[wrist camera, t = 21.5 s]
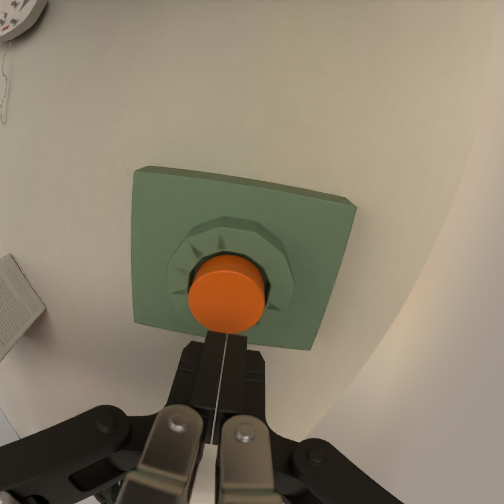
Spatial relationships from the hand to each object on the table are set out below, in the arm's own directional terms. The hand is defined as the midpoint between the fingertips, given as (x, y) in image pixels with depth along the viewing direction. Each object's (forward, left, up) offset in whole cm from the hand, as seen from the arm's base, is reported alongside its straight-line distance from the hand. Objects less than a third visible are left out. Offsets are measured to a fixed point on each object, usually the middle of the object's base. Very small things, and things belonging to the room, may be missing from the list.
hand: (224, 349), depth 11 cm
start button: (0, 0, -5) cm, 5 cm away
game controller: (+20, -14, -9) cm, 26 cm away
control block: (0, 0, -8) cm, 8 cm away
